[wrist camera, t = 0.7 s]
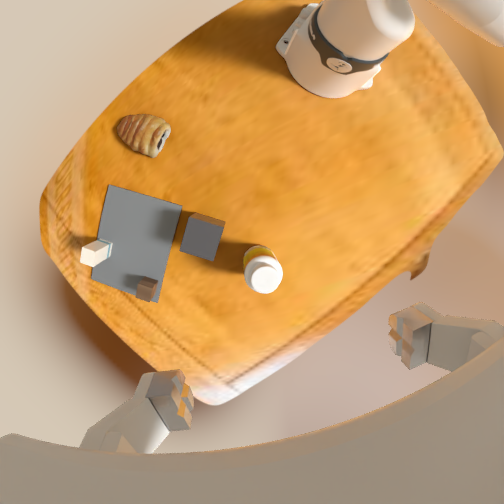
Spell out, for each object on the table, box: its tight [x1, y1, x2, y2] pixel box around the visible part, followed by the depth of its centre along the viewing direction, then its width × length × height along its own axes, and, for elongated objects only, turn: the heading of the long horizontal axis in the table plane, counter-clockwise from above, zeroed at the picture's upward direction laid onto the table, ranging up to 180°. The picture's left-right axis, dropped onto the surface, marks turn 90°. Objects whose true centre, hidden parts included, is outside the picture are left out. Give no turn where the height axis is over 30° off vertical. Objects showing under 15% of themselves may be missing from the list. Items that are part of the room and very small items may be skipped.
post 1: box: [80, 239, 113, 267], centre depth 41 cm, size 3×3×7 cm
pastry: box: [117, 114, 171, 158], centre depth 40 cm, size 9×7×4 cm
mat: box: [91, 185, 182, 303], centre depth 45 cm, size 18×14×1 cm
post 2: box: [136, 276, 158, 302], centre depth 45 cm, size 3×3×4 cm
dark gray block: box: [180, 212, 225, 261], centre depth 43 cm, size 5×5×7 cm
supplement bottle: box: [243, 245, 282, 294], centre depth 43 cm, size 6×6×10 cm
